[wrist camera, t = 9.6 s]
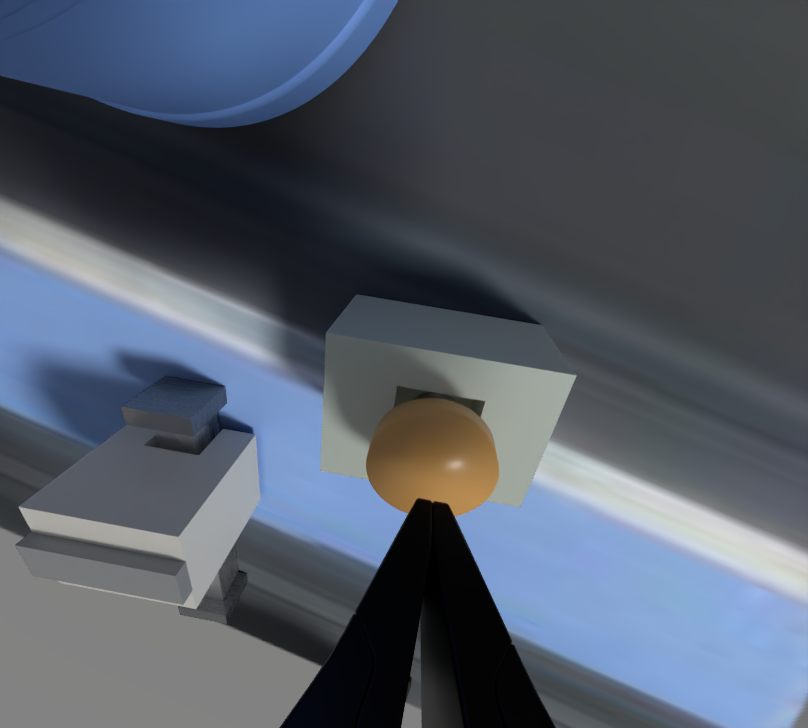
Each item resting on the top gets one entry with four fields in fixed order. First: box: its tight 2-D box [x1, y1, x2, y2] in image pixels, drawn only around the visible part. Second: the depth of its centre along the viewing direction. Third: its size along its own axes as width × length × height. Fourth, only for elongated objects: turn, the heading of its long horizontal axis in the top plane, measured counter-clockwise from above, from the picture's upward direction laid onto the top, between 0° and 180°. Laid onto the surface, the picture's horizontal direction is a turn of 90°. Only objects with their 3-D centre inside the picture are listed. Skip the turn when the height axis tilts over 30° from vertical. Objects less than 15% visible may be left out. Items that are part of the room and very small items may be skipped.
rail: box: [121, 376, 248, 624], centre depth 21 cm, size 17×3×3 cm, turn 172°
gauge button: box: [366, 392, 499, 516], centre depth 12 cm, size 4×4×3 cm
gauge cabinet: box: [321, 294, 577, 507], centre depth 14 cm, size 6×8×4 cm
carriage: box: [15, 425, 260, 609], centre depth 17 cm, size 5×6×7 cm
